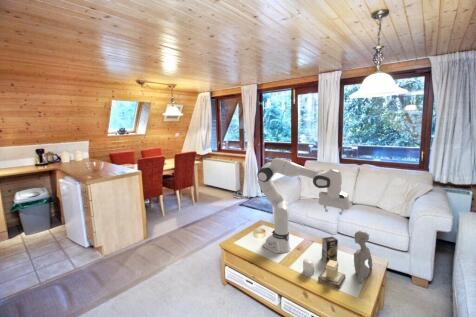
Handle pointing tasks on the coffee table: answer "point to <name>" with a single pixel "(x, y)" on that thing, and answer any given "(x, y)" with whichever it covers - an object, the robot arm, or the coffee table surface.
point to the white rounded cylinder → (308, 267)
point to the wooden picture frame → (332, 282)
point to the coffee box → (329, 249)
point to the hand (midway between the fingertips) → (333, 213)
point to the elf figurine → (362, 256)
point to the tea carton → (332, 269)
